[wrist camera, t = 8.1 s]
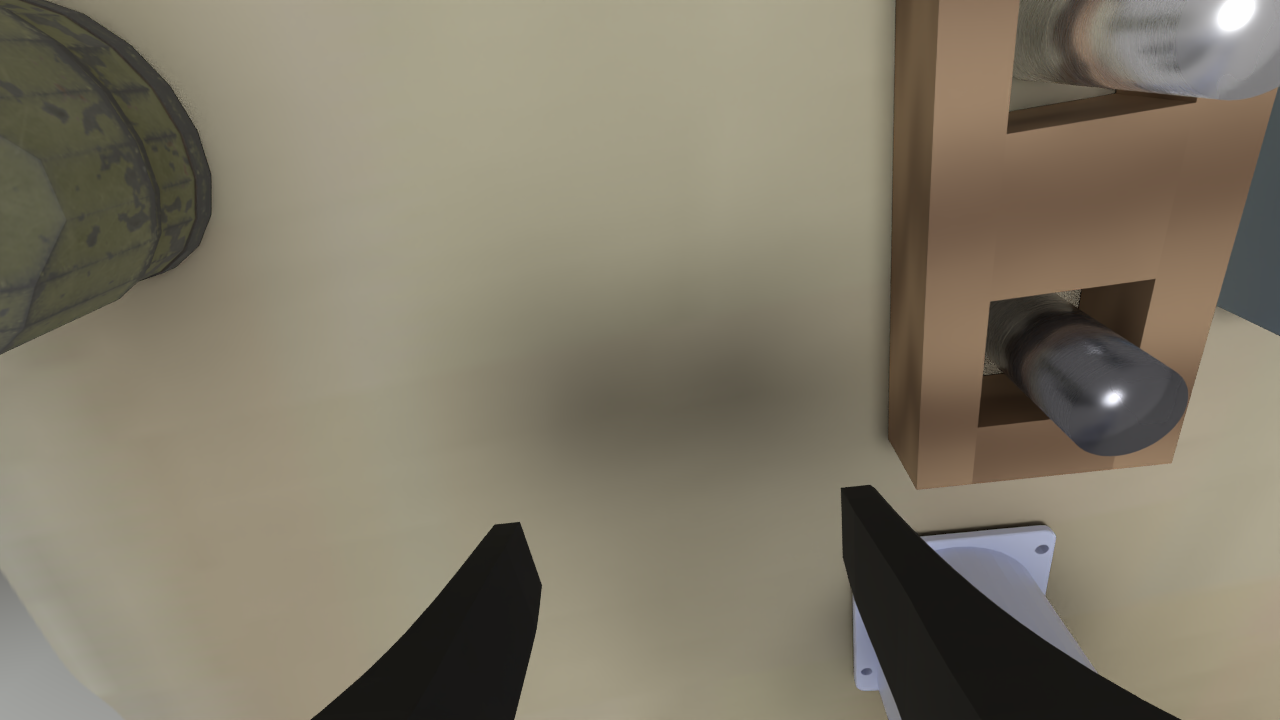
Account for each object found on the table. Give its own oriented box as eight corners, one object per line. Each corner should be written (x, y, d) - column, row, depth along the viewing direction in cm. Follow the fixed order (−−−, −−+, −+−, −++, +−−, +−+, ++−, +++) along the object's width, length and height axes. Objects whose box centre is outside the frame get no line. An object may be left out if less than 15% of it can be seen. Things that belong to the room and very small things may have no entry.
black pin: (1047, 348, 21) (1173, 449, 16) (964, 358, 22) (1061, 462, 16) (1058, 273, 20) (1200, 356, 15) (970, 285, 20) (1077, 371, 15)
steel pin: (1095, 64, 17) (1337, 76, 11) (990, 91, 18) (1167, 118, 11) (1102, -50, 16) (1381, -110, 10) (990, -18, 16) (1188, -56, 10)
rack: (1111, 413, 22) (1171, 463, 20) (888, 438, 23) (916, 489, 21) (1250, -228, 14) (1385, -290, 12) (898, -149, 15) (947, -190, 12)
